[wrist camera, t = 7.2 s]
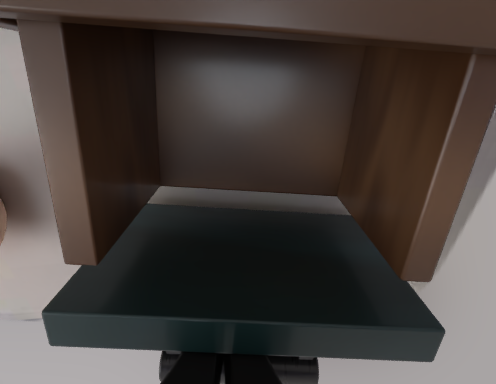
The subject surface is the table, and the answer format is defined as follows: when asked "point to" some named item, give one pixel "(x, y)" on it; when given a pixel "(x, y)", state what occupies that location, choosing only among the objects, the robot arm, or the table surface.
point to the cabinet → (287, 19)
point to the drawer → (251, 189)
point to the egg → (2, 221)
